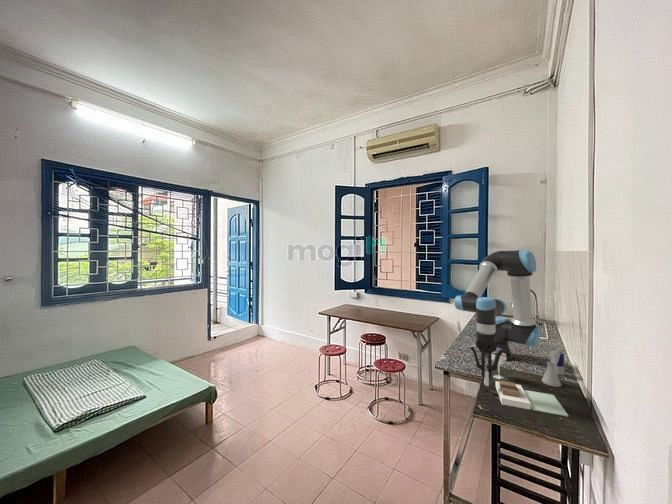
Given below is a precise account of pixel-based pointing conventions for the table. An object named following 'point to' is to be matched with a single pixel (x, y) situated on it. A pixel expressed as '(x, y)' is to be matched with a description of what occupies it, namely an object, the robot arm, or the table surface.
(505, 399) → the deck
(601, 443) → the table surface
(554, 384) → the flask
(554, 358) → the energy drink
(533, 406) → the mat
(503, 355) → the wineglass
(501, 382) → the walnut tile
